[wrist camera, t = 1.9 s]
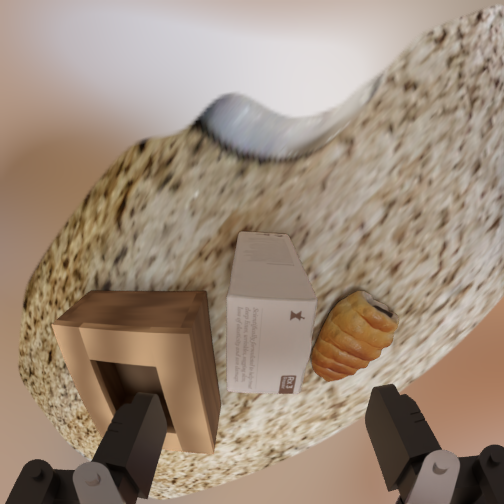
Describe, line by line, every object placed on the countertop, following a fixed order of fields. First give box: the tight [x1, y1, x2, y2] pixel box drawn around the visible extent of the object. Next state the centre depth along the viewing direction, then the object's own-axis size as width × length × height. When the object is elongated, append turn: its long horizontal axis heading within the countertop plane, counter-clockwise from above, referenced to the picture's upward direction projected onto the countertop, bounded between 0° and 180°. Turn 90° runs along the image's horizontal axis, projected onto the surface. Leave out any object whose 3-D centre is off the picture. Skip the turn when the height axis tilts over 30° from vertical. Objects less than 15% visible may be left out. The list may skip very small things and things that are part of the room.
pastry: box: [312, 291, 399, 382], centre depth 25 cm, size 9×7×4 cm
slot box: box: [52, 291, 221, 454], centre depth 25 cm, size 12×14×7 cm
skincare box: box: [226, 231, 318, 394], centre depth 19 cm, size 6×4×12 cm
